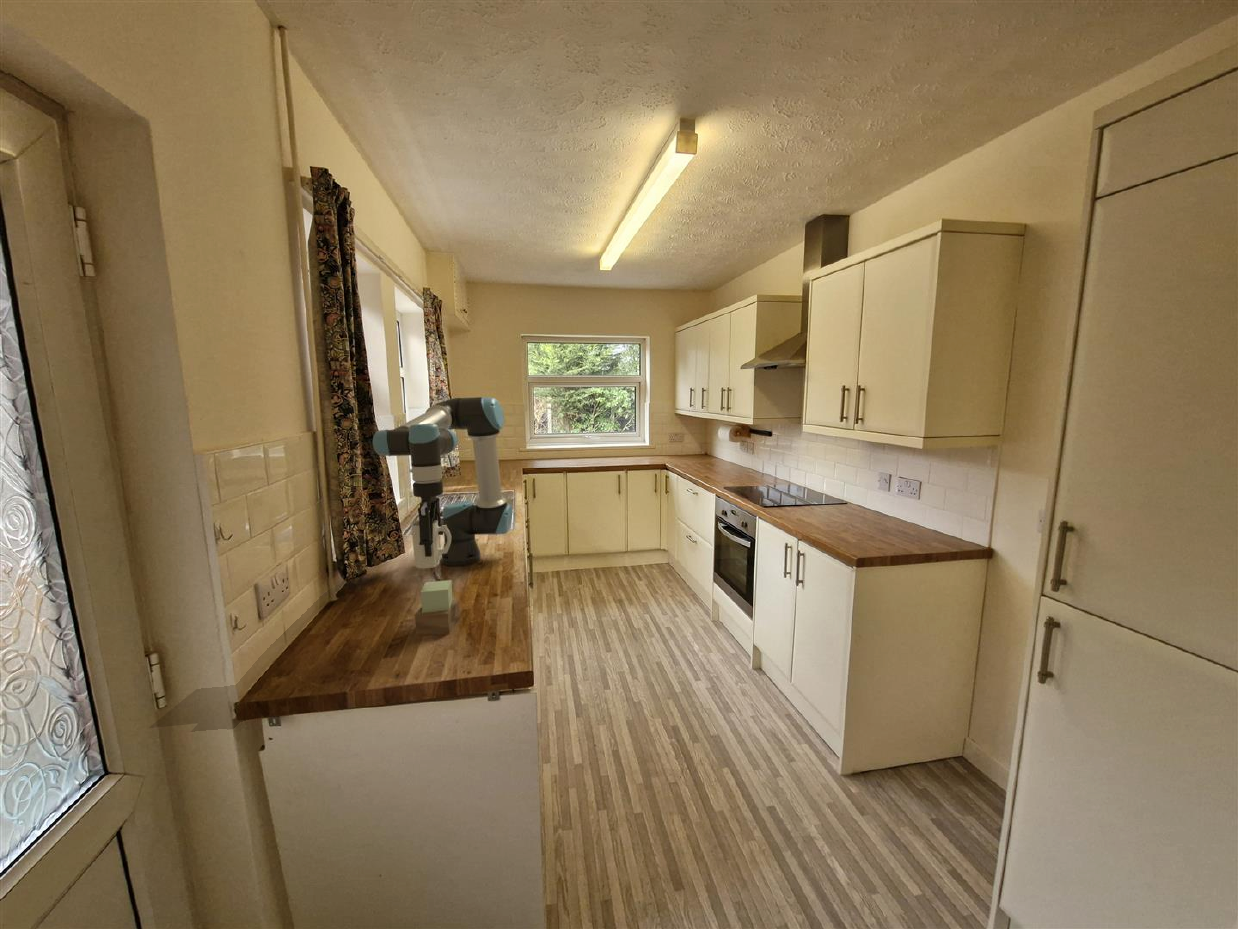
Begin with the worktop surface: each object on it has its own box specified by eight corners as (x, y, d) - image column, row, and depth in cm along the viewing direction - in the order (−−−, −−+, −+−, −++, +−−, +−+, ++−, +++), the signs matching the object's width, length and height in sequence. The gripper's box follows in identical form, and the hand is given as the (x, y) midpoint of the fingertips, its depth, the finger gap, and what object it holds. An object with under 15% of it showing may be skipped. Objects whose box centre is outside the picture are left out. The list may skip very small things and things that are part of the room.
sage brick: (427, 602, 136) (425, 582, 135) (452, 599, 137) (451, 580, 136) (422, 613, 129) (420, 592, 128) (449, 610, 130) (447, 589, 129)
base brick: (429, 620, 138) (427, 600, 137) (460, 619, 138) (458, 599, 137) (416, 635, 129) (414, 614, 128) (449, 634, 129) (447, 613, 128)
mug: (412, 570, 127) (408, 526, 125) (416, 562, 134) (413, 520, 132) (451, 566, 129) (448, 523, 128) (454, 558, 136) (451, 518, 134)
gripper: (422, 475, 137) (428, 552, 140) (401, 487, 118) (408, 576, 121) (449, 474, 138) (454, 551, 141) (433, 486, 119) (439, 574, 122)
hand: (433, 562), depth 131 cm, fingers closed on mug, 6 cm apart
